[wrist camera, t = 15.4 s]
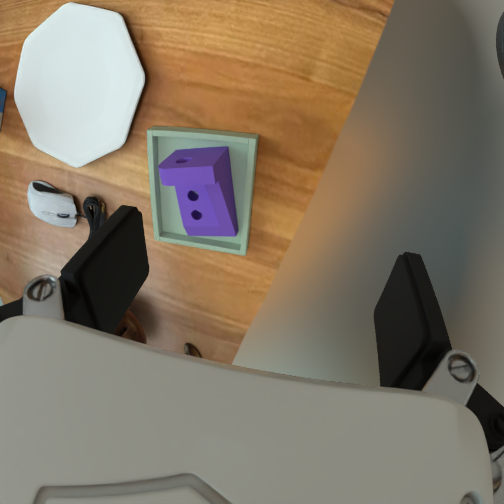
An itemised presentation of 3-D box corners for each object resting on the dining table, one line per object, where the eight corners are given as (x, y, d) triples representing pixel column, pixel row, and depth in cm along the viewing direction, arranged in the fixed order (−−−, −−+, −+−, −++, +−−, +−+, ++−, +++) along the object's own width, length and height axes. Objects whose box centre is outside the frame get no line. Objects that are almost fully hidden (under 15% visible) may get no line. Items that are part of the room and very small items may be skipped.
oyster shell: (194, 336, 68) (199, 376, 68) (178, 338, 66) (183, 379, 67) (203, 343, 62) (207, 387, 63) (185, 346, 61) (191, 390, 61)
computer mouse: (29, 168, 44) (14, 178, 41) (110, 197, 45) (96, 210, 42) (32, 214, 50) (20, 225, 47) (107, 246, 51) (96, 260, 48)
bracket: (176, 149, 38) (152, 169, 33) (228, 146, 37) (212, 166, 32) (191, 229, 45) (174, 258, 40) (238, 230, 44) (227, 260, 39)
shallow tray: (258, 134, 36) (256, 139, 34) (248, 247, 46) (245, 256, 44) (153, 125, 37) (146, 129, 36) (159, 233, 47) (154, 240, 46)
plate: (14, 131, 40) (8, 134, 39) (43, -3, 26) (36, -3, 25) (117, 183, 43) (112, 188, 42) (172, 27, 29) (167, 27, 28)
